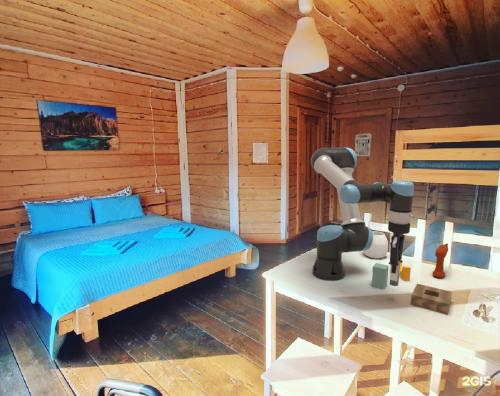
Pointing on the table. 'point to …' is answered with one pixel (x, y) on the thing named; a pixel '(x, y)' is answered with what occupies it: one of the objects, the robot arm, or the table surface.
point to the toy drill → (440, 260)
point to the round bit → (395, 283)
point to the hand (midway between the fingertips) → (394, 278)
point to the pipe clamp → (404, 272)
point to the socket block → (431, 298)
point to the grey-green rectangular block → (380, 275)
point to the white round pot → (377, 246)
